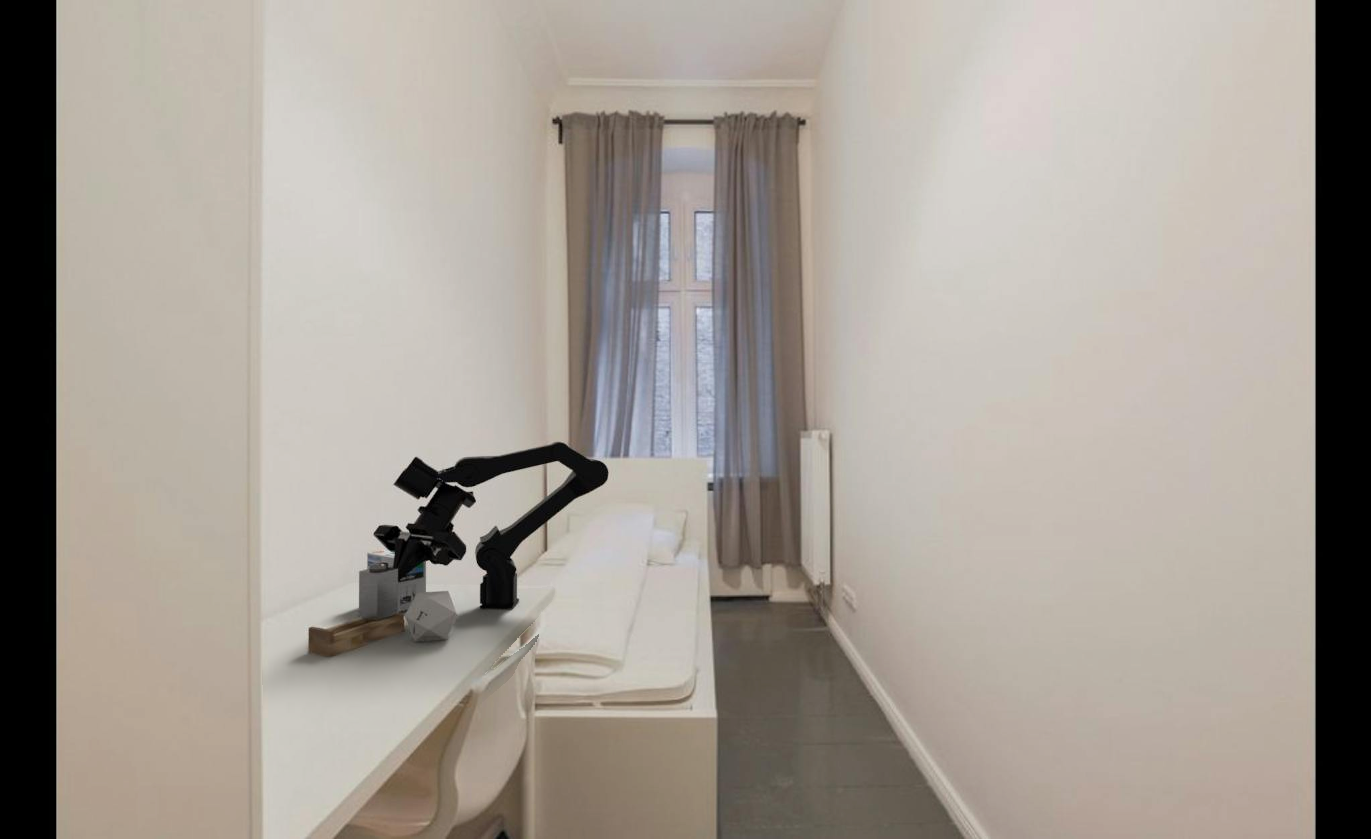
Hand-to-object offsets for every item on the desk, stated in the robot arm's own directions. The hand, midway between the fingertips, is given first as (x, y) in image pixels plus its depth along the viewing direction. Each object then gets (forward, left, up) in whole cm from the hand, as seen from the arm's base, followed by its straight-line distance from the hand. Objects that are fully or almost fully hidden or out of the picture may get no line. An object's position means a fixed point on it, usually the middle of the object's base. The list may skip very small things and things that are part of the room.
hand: (394, 580), depth 122 cm
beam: (+3, +7, -9) cm, 12 cm away
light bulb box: (+6, -15, -9) cm, 18 cm away
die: (-9, +5, -9) cm, 14 cm away
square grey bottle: (+1, +4, -6) cm, 7 cm away
